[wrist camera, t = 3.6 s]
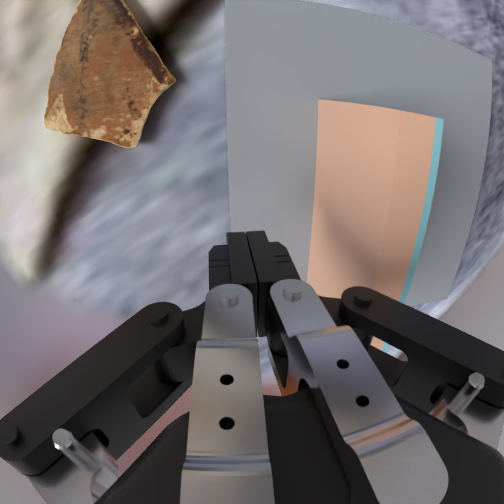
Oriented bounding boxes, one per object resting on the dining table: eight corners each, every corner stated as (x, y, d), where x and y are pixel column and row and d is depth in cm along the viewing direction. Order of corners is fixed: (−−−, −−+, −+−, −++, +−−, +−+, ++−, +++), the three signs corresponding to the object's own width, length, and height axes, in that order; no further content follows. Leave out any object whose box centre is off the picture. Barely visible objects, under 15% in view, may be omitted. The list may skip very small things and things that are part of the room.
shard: (103, -28, 10) (94, -37, 8) (217, -12, 12) (218, -22, 11) (49, 126, 15) (35, 130, 13) (155, 149, 17) (150, 154, 15)
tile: (318, 99, 15) (400, 110, 8) (350, 102, 15) (443, 119, 8) (306, 281, 21) (347, 371, 14) (333, 279, 21) (381, 363, 14)
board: (224, 3, 12) (225, -3, 11) (481, 60, 14) (491, 60, 13) (235, 320, 23) (236, 331, 22) (440, 291, 25) (446, 298, 24)
